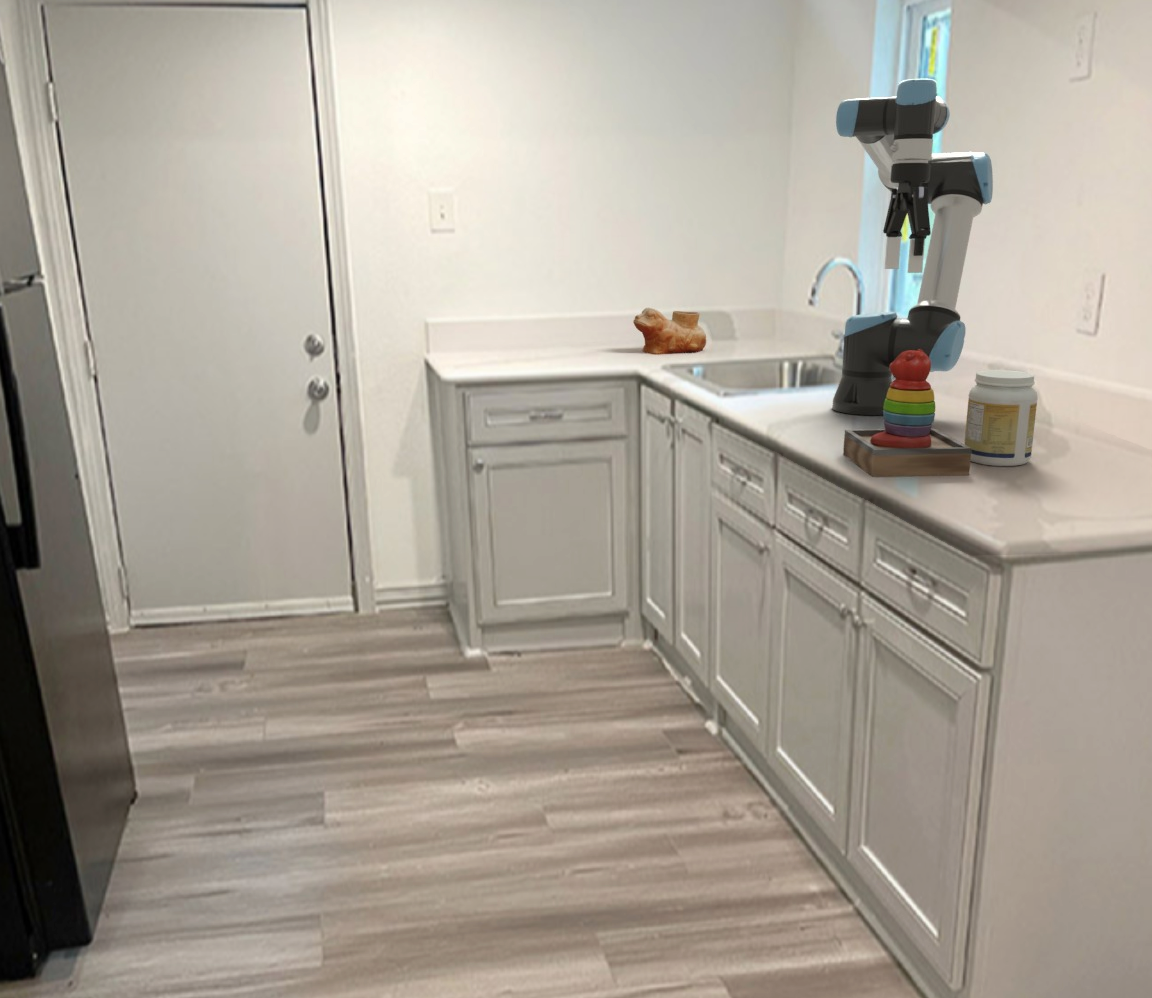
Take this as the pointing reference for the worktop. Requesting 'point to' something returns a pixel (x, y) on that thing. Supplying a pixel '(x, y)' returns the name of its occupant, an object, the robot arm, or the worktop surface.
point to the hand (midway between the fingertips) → (902, 271)
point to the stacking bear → (908, 403)
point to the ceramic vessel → (670, 332)
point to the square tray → (907, 455)
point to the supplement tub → (1001, 417)
